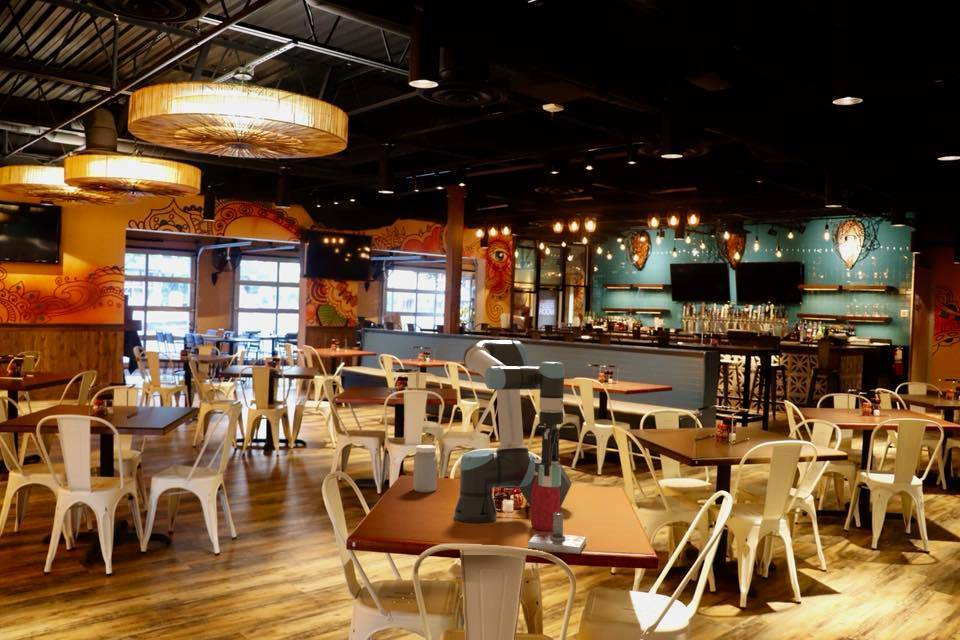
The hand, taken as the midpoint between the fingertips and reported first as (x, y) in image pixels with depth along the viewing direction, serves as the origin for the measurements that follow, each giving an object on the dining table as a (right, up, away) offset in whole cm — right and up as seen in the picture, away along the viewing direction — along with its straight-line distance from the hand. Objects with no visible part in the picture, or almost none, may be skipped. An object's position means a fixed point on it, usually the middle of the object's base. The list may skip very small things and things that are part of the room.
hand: (549, 483), depth 248 cm
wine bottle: (0, -20, +21) cm, 29 cm away
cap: (0, 0, 0) cm, 0 cm away
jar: (-45, -18, +74) cm, 88 cm away
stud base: (+2, -20, 0) cm, 20 cm away
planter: (+2, -19, +49) cm, 53 cm away
